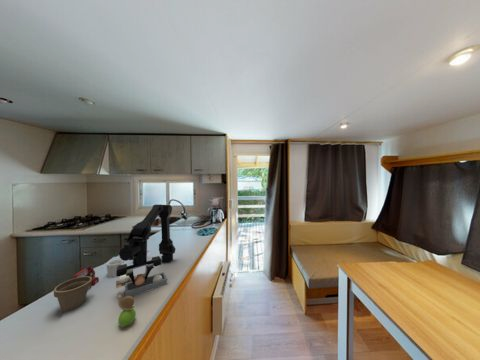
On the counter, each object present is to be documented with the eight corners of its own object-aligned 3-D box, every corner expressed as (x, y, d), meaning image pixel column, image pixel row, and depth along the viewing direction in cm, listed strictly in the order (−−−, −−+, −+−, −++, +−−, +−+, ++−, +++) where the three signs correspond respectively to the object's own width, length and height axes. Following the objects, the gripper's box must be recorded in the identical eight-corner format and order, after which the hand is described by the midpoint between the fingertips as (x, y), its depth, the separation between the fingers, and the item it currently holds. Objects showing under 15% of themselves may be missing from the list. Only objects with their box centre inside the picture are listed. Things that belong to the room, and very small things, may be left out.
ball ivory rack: (129, 278, 88) (129, 270, 88) (129, 282, 84) (129, 274, 84) (119, 281, 85) (119, 273, 85) (118, 286, 82) (119, 277, 82)
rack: (146, 274, 94) (146, 271, 94) (147, 280, 88) (147, 277, 88) (116, 283, 86) (116, 280, 86) (115, 290, 80) (115, 287, 80)
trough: (163, 278, 90) (163, 272, 90) (166, 286, 83) (166, 279, 83) (125, 291, 79) (125, 283, 79) (125, 300, 73) (125, 292, 73)
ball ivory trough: (161, 280, 88) (161, 271, 88) (162, 284, 84) (163, 275, 84) (151, 283, 85) (152, 274, 85) (153, 287, 81) (153, 278, 81)
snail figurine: (121, 318, 63) (122, 287, 63) (138, 317, 64) (139, 287, 64) (111, 331, 58) (112, 297, 58) (130, 330, 58) (131, 296, 59)
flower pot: (74, 296, 75) (75, 275, 75) (98, 297, 75) (98, 275, 75) (43, 317, 64) (44, 291, 64) (71, 318, 63) (72, 292, 64)
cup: (131, 272, 96) (131, 258, 96) (120, 280, 88) (120, 265, 88) (115, 271, 97) (115, 258, 97) (102, 279, 89) (102, 264, 89)
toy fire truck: (101, 281, 88) (101, 261, 88) (82, 296, 75) (83, 274, 76) (86, 282, 86) (87, 262, 87) (65, 298, 74) (66, 275, 74)
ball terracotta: (145, 285, 79) (145, 276, 79) (134, 289, 77) (134, 279, 77) (144, 281, 83) (144, 272, 83) (133, 284, 80) (134, 275, 80)
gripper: (157, 242, 92) (157, 269, 92) (117, 250, 81) (116, 281, 81) (162, 248, 83) (161, 279, 83) (116, 258, 72) (115, 293, 72)
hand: (139, 282), depth 80 cm, fingers closed on ball terracotta, 4 cm apart
